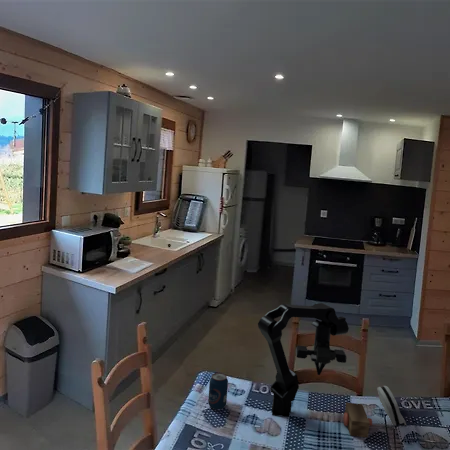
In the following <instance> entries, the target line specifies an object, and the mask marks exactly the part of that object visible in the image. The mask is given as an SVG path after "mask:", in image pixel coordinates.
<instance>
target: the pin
mask: <svg viewBox="0 0 450 450" xmlns="http://www.w3.org/2000/svg"><path fill="white" fill-rule="evenodd" d="M342 419H343V425H344V426H345V427H348V423H349V415H348V413H345V412H344V413H343V417H342ZM368 420H369V422H370V424H369V427H370V426H373V418H370V417H368Z"/></svg>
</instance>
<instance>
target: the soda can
mask: <svg viewBox="0 0 450 450" xmlns="http://www.w3.org/2000/svg"><path fill="white" fill-rule="evenodd" d="M228 385H229V380H228V376H227V374H225V373H222V372H214V373H212V374H211V377H210V378H209V385H208V396H207V397H208V398H207V399H208V400H207V402H208V406H209V407H210V408H211V407H212V408H214V409H221V410H223V409H225V407H226V406H227V399H228V398H227V397H228V387H229V386H228ZM212 408H211V409H212ZM222 408H223V409H222ZM214 409H213V410H214Z"/></svg>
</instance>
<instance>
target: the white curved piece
mask: <svg viewBox="0 0 450 450" xmlns="http://www.w3.org/2000/svg"><path fill="white" fill-rule="evenodd" d="M376 389H377V393H378V399H379V402H380V404H381V403H382V404H381V406H382V405H383V406H382V407H384V408H383V410H384V411H385V413H386V415H387V417H388V416H389V417H388V419H389V418H390V419H389V420H391V421H390V423H391V424H392V426H396V425H397V424H403V425H404V426H405V425H406V426H407V422H406V420H405V418H404V417H403V415H402V414H401V411H400V408H399V407H400V406H399V405H398V403H397V401H396V398H395V397H394V394H393V392H392V391H391V389H390V388H389V387H388V386H387V385H382V386H378V387H376Z"/></svg>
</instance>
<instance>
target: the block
mask: <svg viewBox="0 0 450 450" xmlns="http://www.w3.org/2000/svg"><path fill="white" fill-rule="evenodd" d="M344 407H345V409H344V413H348V415H349V423H348V426H347V430H348V433H349V436H350V437H361V438H367V439H368V438H369V432H370V431H369V430H370V426H369V424H370V422H369V420H368V418H369V417H368V416H367V413H366V410H365V407H364V405H363V404H362V403H357V402H356V403H354V402H347V401H346V402H345V406H344Z"/></svg>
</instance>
